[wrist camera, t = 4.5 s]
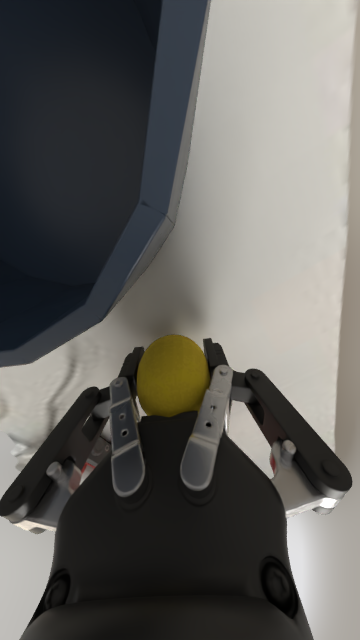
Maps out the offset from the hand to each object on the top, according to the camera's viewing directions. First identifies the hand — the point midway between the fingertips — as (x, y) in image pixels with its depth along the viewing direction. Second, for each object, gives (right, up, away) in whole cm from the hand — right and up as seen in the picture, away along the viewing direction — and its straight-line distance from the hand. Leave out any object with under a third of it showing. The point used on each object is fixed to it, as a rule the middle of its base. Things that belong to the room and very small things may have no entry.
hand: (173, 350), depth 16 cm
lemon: (0, +1, +1) cm, 1 cm away
